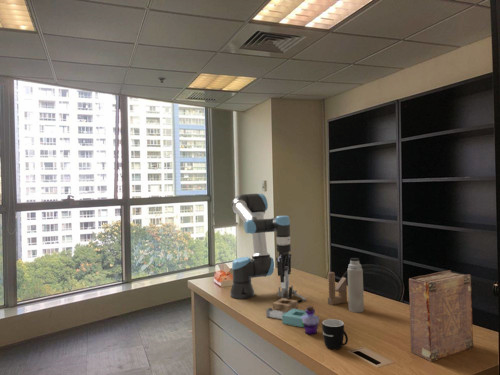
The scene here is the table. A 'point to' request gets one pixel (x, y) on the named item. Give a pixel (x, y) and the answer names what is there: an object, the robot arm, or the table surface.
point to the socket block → (294, 317)
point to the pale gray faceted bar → (274, 313)
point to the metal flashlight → (285, 290)
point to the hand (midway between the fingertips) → (285, 286)
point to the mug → (334, 333)
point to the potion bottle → (310, 321)
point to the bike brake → (291, 294)
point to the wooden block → (337, 290)
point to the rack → (285, 305)
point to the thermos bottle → (355, 286)
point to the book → (440, 314)
